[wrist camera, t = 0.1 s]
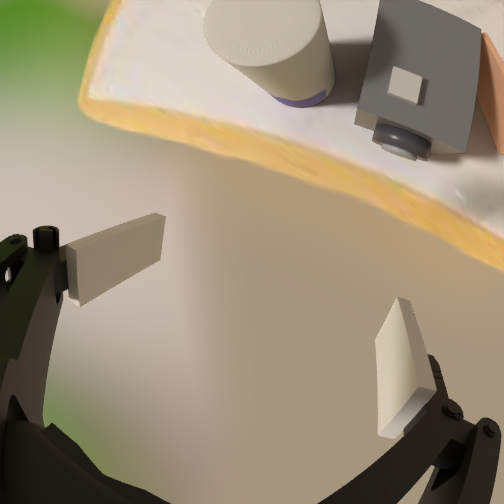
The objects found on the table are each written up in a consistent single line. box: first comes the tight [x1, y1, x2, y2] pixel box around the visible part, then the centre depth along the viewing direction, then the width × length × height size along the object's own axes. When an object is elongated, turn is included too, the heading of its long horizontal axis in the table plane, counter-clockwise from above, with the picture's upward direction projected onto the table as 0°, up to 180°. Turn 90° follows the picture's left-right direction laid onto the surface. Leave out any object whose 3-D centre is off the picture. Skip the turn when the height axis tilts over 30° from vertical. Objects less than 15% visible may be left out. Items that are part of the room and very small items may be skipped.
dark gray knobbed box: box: [354, 0, 481, 161], centre depth 26 cm, size 18×12×13 cm, turn 166°
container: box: [203, 0, 335, 108], centre depth 26 cm, size 10×10×20 cm
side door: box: [476, 33, 504, 154], centre depth 22 cm, size 15×2×10 cm, turn 26°
